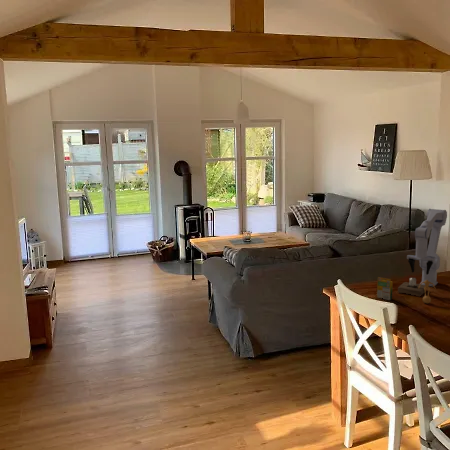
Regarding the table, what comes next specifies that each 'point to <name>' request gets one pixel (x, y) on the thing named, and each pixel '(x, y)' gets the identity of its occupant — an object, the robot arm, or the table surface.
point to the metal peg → (412, 282)
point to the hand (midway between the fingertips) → (420, 273)
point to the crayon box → (384, 288)
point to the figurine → (426, 298)
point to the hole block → (411, 289)
